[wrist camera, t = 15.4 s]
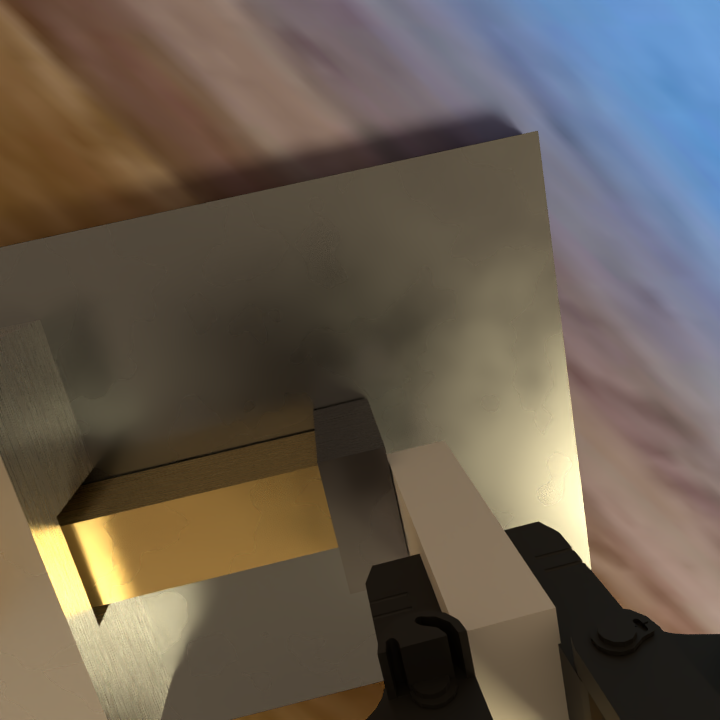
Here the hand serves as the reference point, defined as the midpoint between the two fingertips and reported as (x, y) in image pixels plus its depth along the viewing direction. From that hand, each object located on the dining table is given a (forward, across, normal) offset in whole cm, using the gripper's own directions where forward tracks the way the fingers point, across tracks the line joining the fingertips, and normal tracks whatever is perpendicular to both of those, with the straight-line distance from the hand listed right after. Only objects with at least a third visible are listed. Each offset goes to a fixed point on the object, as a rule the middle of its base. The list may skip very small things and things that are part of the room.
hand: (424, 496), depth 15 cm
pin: (+3, -6, 0) cm, 7 cm away
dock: (+4, -9, 0) cm, 10 cm away
